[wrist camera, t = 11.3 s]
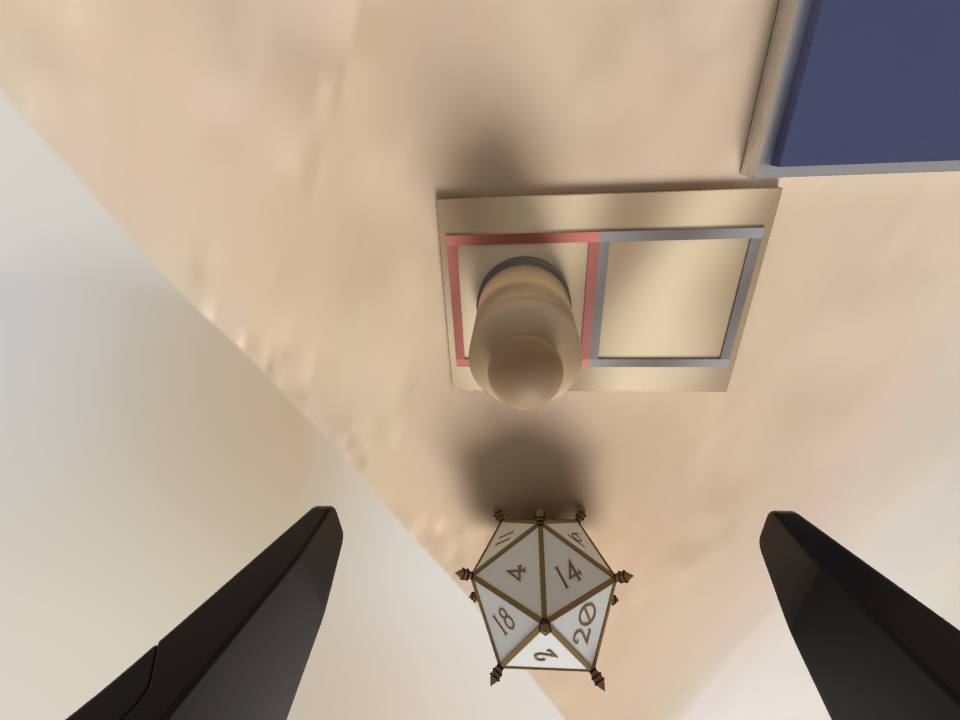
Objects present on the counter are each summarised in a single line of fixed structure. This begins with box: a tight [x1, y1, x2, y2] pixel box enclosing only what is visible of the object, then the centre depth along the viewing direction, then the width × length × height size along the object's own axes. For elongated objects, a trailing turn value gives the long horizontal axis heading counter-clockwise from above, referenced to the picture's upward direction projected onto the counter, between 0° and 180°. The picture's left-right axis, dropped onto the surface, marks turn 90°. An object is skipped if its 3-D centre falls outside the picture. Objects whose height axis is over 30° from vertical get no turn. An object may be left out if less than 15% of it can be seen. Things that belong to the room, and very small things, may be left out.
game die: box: [456, 508, 633, 691], centre depth 23 cm, size 9×8×10 cm
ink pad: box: [740, 0, 960, 178], centre depth 13 cm, size 8×7×2 cm
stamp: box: [469, 256, 583, 410], centre depth 16 cm, size 4×4×7 cm
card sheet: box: [436, 187, 783, 392], centre depth 19 cm, size 13×9×1 cm
